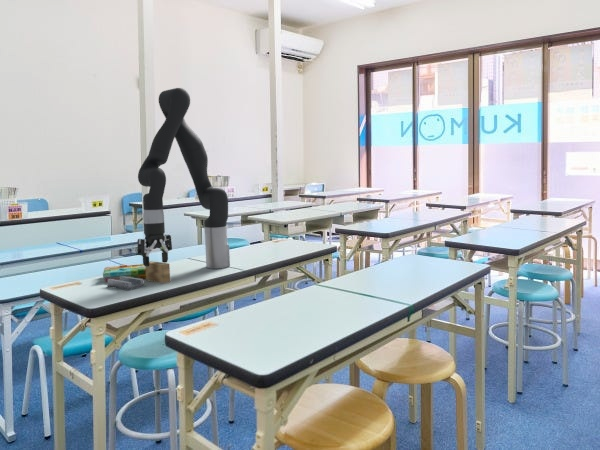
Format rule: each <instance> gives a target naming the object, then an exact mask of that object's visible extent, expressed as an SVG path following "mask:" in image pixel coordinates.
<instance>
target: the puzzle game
mask: <svg viewBox="0 0 600 450" xmlns="http://www.w3.org/2000/svg"><path fill="white" fill-rule="evenodd" d="M120 276H127V277H132V278H138V279H143V280H144V279H145V280H146V268H145V266H144V264H143V263H142V264H131V265H130V264H121V265H118V266H105V267H104V268H103V272H102V278H103V279H104V280H105V281H106V283H108V279H115V280H120Z"/></svg>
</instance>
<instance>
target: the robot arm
mask: <svg viewBox="0 0 600 450" xmlns="http://www.w3.org/2000/svg"><path fill="white" fill-rule="evenodd" d="M158 105H159V108H160V110H161V112H162V114H163V116H164V118H165V120H164V122H163V123H162V125H161V127H160V128H159V129H158V131H157V132H156V134H155V135H154V137H153V140H152V143H151V145H150V149H149V152H148V155H147V157H146V158H145V160H144V161H143V162H142V164H141V166H140V168H139V170H138V172H137V181H138V183H139V184H140V185H141V186H142V187H146V188H147V187H148V188H149V190H148V193H146V194H144V195H143V197H142V206H143V207H142V209H143V213H142V220H143V234H144V238H138V239H137V256H142V264H144V266H149V262H150V256H149V255H150V253H151V252H152V251H153V250H155V249H159V250H161V251H160V252H161V263H168V260H169V252H170V251H172V250H173V244H172V243H173V242H172V236H171V235H170V234H165V232H166V231H165V230H166V229H165V213H164V202H163V198H164V193H165V190H166V189H165V188H166V184H167V177H166V173H165V171H164V170H163V169H162V168H161V167H160V166H162V165H165V164H166V163H167V161H168V160H169V159H168V158H169V156H170V153H171V149H172V146H173V142H174V140H176V142H177V145H178V147H179V151H180V152H181V155H182V158H183V160H184V162H185V165H186V167H187V169H188V171H189V174H190V177H191V179H192V183H193V185H194V189H195V192H196V195H197V199H198V201H199V204H200V205H201V206H202V208H203V209H205V210H209V216H208V217H207V218H205V219H204V222H203V229H204V243H205V244H204V245H205V248H204V249H205V264H206V268H207V269H224V268H228V267H230V266H231V260H230V259H231V257H230V256H231V255H230V244H229V243H228V228H227V227H228V226H227V224H228V223H227V222H228V220H229V198H228V195H227V192H226V190H225V189H223V188H220V187H213V185H212V183H211V181H210V178H209V175H208V163H209V161H208V154H207V151H206V149H205V145H204V143H203V142H202V140H201V138H200V137H199V136H198V134H196V132H195V131H194V130H192V128H191V127H190V126H189V124H188V123H187V122H186V120H185V116H186V114H187V113H188V110H189V108H190V106H191V97H190V94H189V92H188V90H186V89H185V88H183V87H175V88H170V89H167V90H163V91H162V92H160V93H159V95H158Z"/></svg>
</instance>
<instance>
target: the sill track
mask: <svg viewBox="0 0 600 450" xmlns="http://www.w3.org/2000/svg"><path fill="white" fill-rule="evenodd" d="M106 286H108V288H114V289H119V290H124V291H128V292H129V291H132V290H137V289H138V288H143V287H145V283H144V279H138V278H132V277H127V276H120V280H115V279H108V282H107V285H106Z"/></svg>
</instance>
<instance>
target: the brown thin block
mask: <svg viewBox="0 0 600 450" xmlns="http://www.w3.org/2000/svg"><path fill="white" fill-rule="evenodd" d="M145 268H146V279H145V281H147V282H154V283H160V284H167V283H170V282H171V270H170V269H171V267H170V263H168V262H166V263H164V262H162V261H161V262H159V261H153V260H151V261H150V260H149V266H145Z"/></svg>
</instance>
